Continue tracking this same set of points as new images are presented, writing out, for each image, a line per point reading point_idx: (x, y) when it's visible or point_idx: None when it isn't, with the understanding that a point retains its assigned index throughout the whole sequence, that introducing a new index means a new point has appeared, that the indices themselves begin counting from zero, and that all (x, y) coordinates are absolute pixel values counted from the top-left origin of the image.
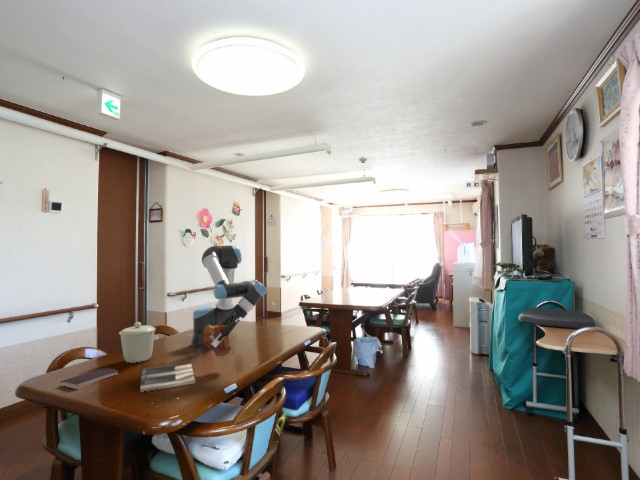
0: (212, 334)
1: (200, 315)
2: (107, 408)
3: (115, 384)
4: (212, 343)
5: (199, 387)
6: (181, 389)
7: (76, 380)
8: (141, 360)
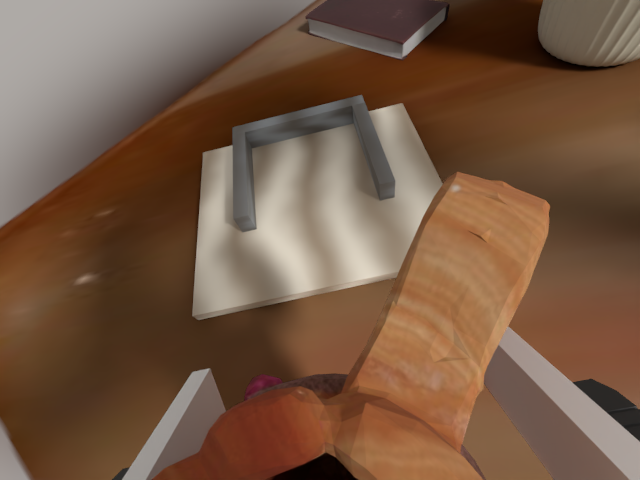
0: (513, 355)
1: None
2: (142, 128)
3: (315, 82)
4: (188, 385)
5: (133, 347)
6: (158, 275)
7: (333, 5)
8: (555, 53)
